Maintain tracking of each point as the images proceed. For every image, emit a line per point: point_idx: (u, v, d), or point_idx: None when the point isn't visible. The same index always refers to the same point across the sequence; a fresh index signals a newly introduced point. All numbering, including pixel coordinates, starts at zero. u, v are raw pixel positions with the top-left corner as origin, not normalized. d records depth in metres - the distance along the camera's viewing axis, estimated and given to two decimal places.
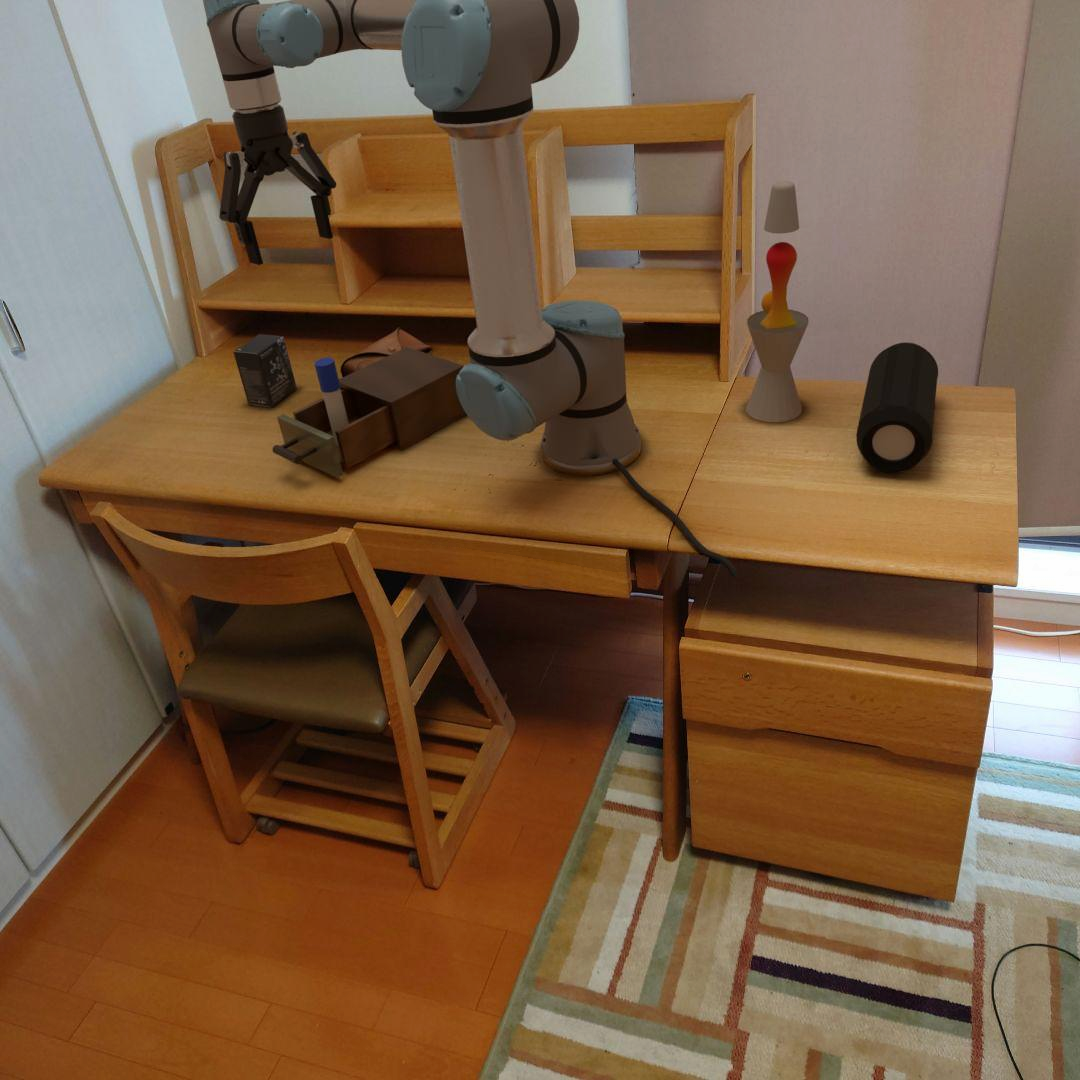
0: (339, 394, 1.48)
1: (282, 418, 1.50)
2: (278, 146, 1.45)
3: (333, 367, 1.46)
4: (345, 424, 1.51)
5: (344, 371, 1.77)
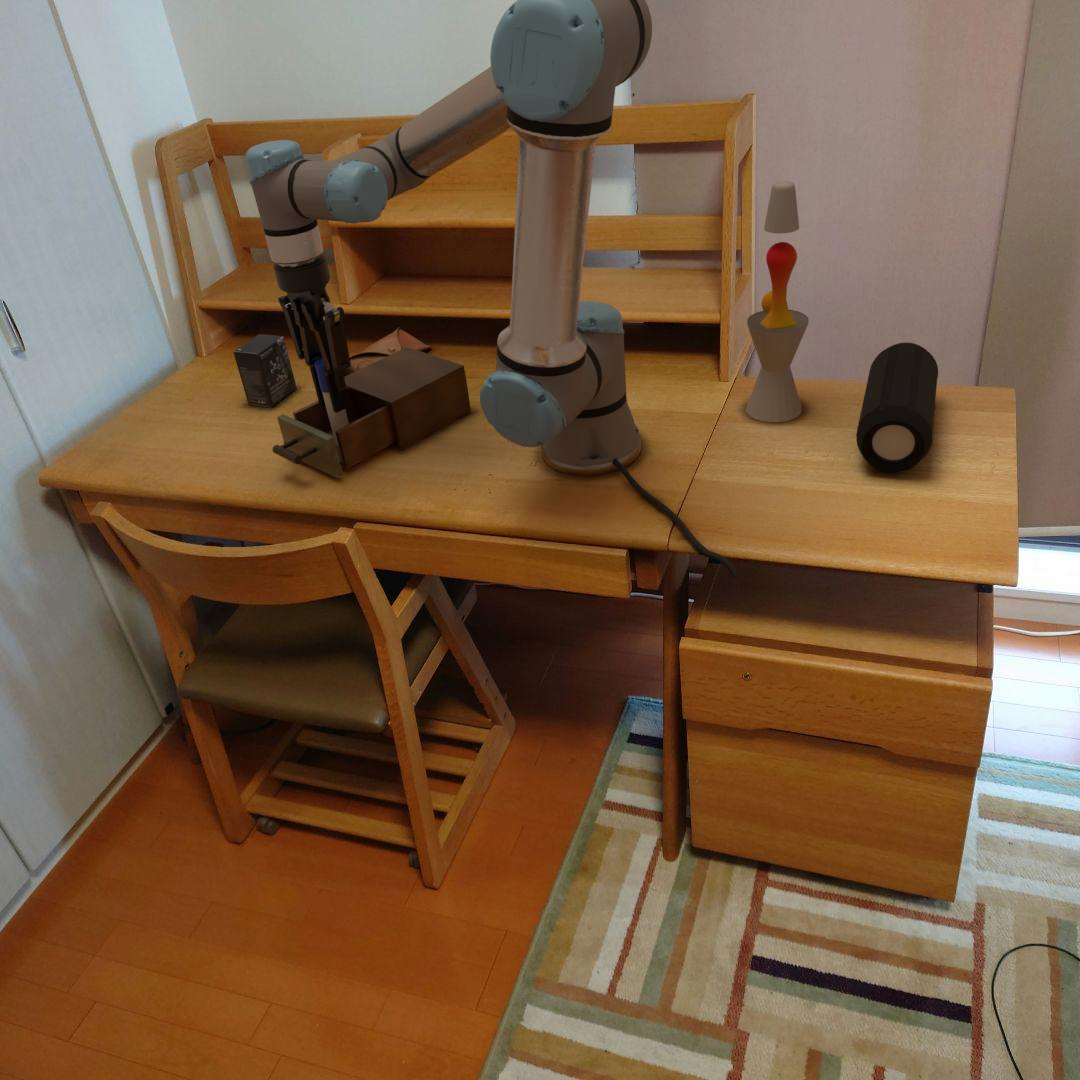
0: None
1: (282, 418, 1.50)
2: (306, 295, 1.38)
3: None
4: (345, 424, 1.51)
5: (344, 371, 1.77)
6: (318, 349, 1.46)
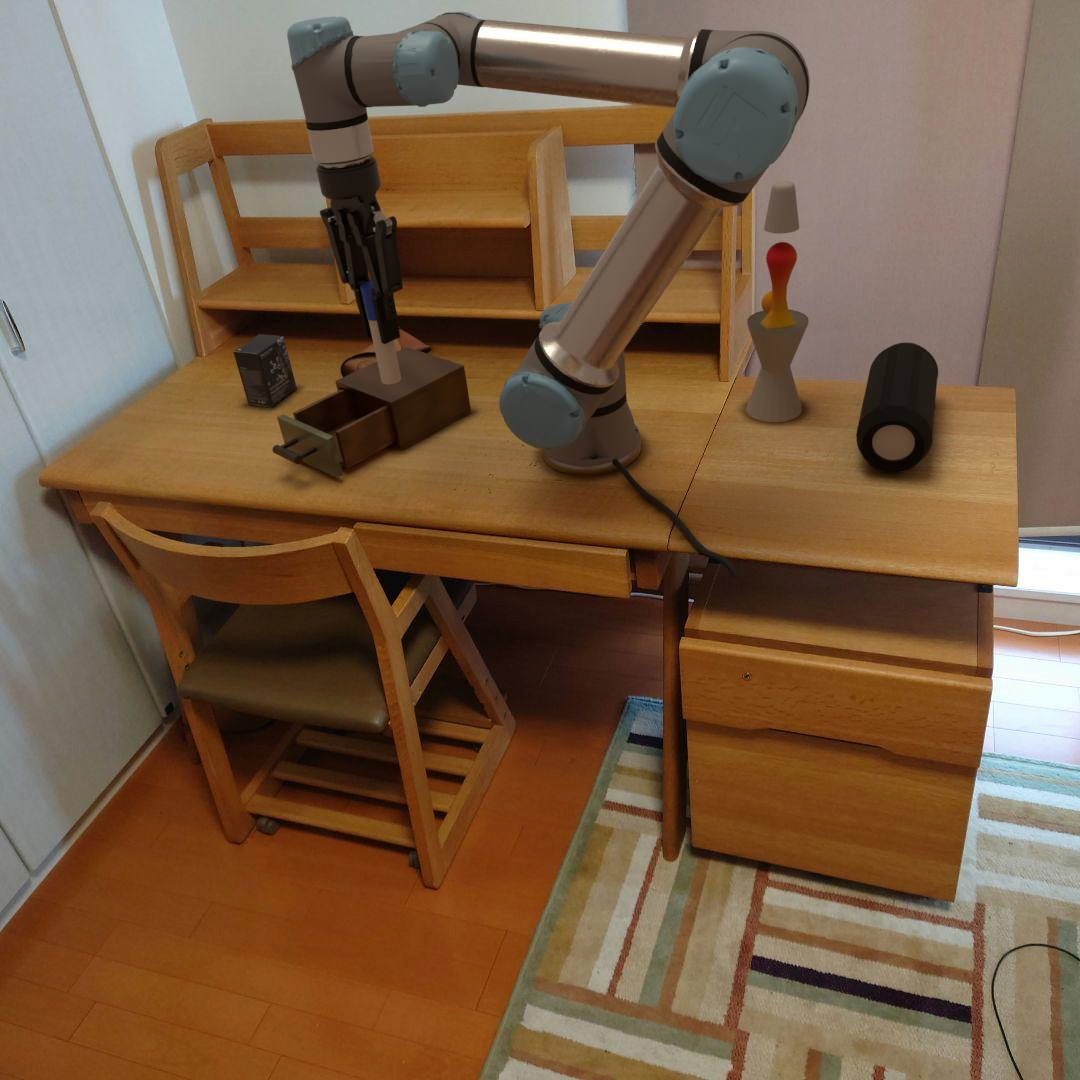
0: None
1: (282, 418, 1.50)
2: (354, 203, 1.20)
3: None
4: (393, 358, 1.33)
5: (344, 371, 1.77)
6: (364, 271, 1.29)
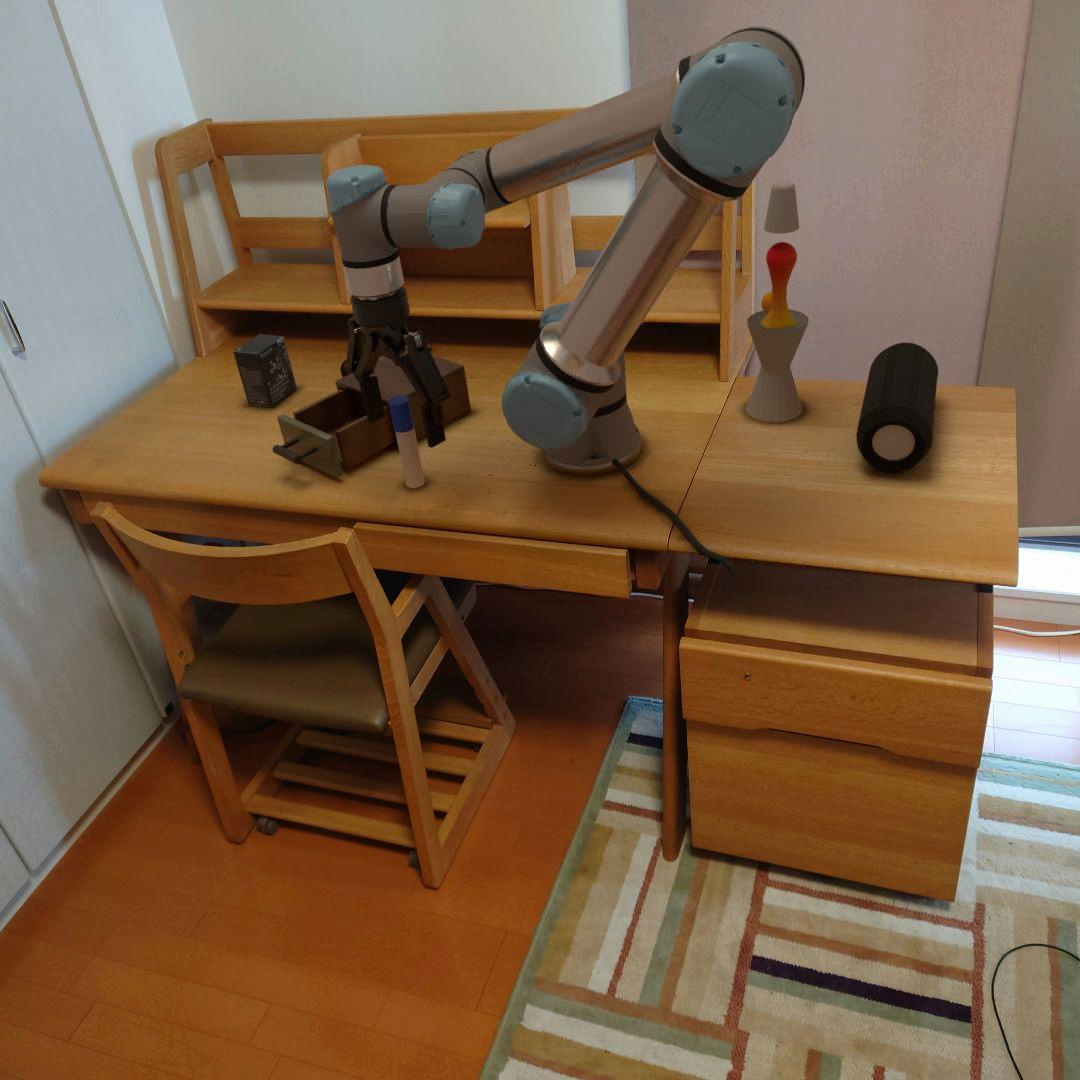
0: (414, 434, 1.39)
1: (282, 418, 1.50)
2: (385, 335, 1.29)
3: (408, 406, 1.37)
4: (418, 464, 1.42)
5: (344, 371, 1.77)
6: (372, 368, 1.39)
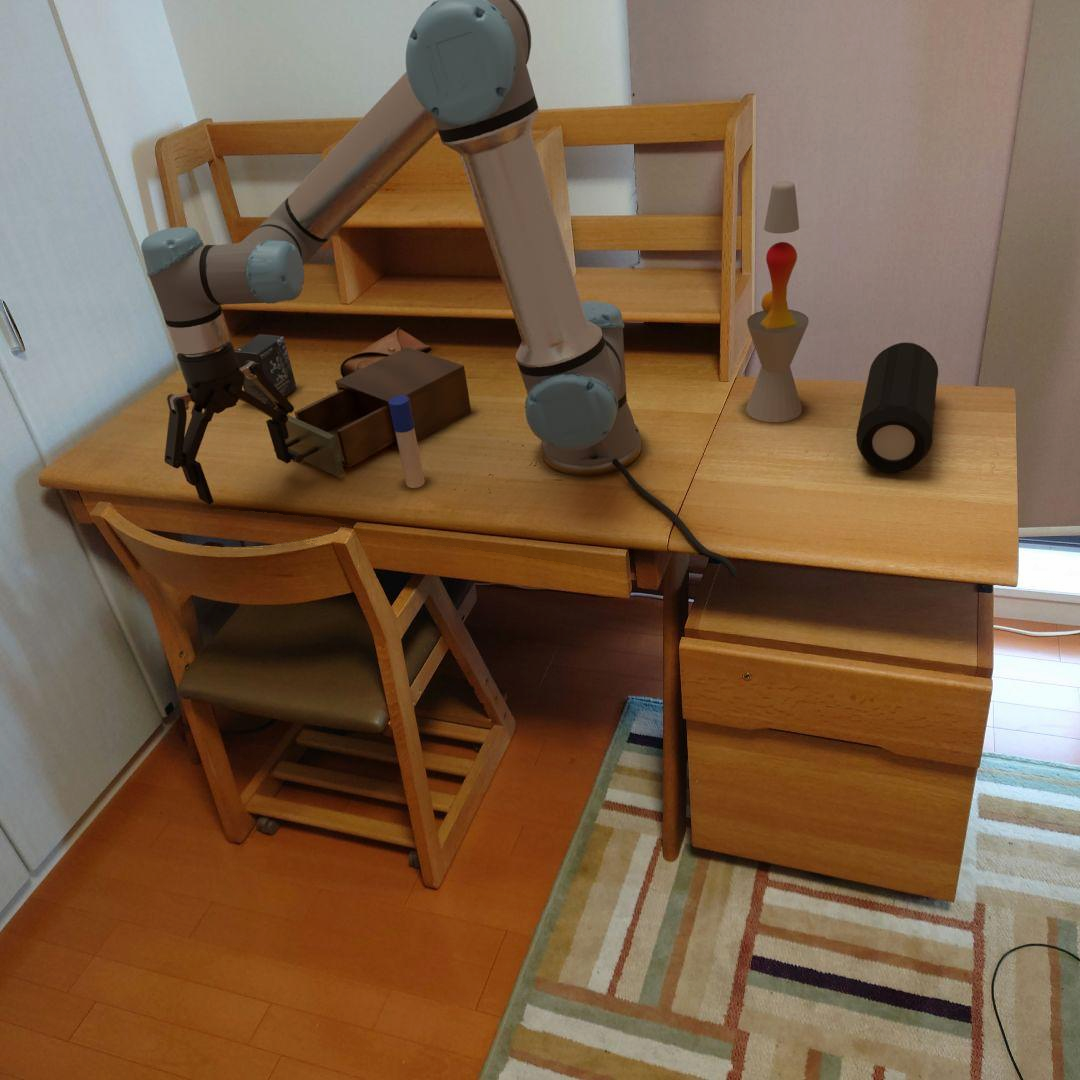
0: (414, 434, 1.39)
1: None
2: (228, 382, 1.34)
3: (408, 406, 1.37)
4: (418, 464, 1.42)
5: (344, 371, 1.77)
6: None
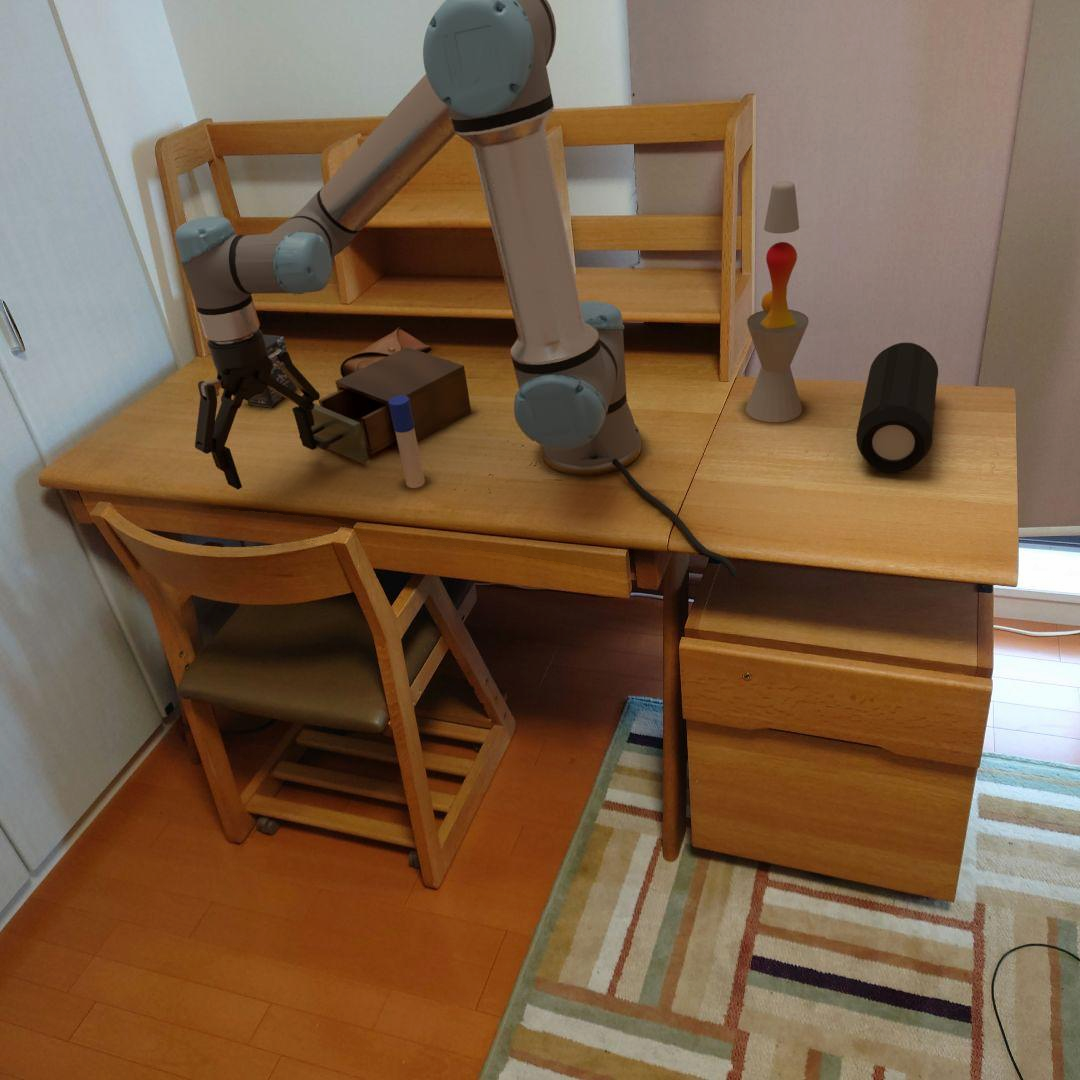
0: (414, 434, 1.39)
1: None
2: (257, 369, 1.36)
3: (408, 406, 1.37)
4: (418, 464, 1.42)
5: (344, 371, 1.77)
6: None
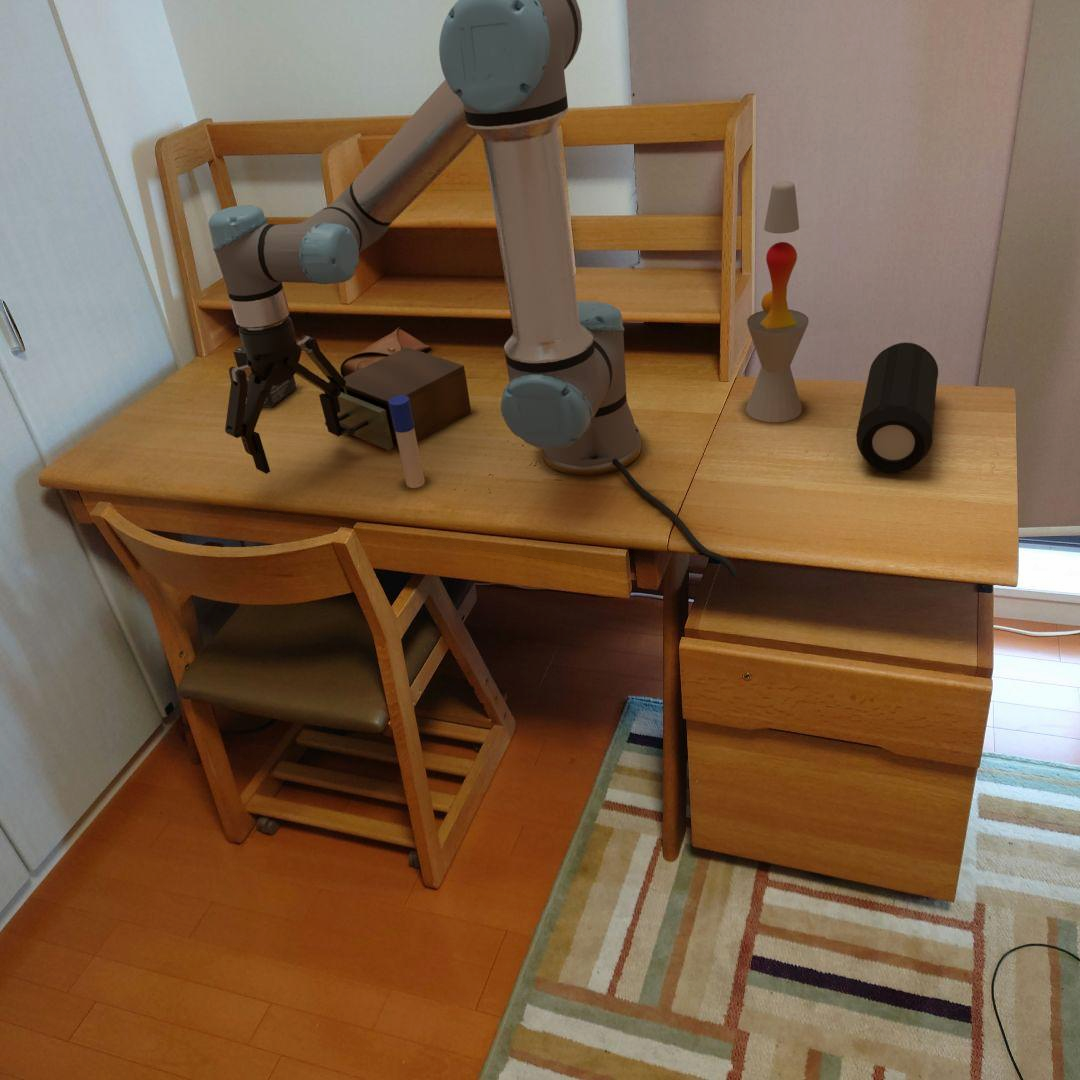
0: (414, 434, 1.39)
1: None
2: (286, 356, 1.39)
3: (408, 406, 1.37)
4: (418, 464, 1.42)
5: (344, 371, 1.77)
6: None
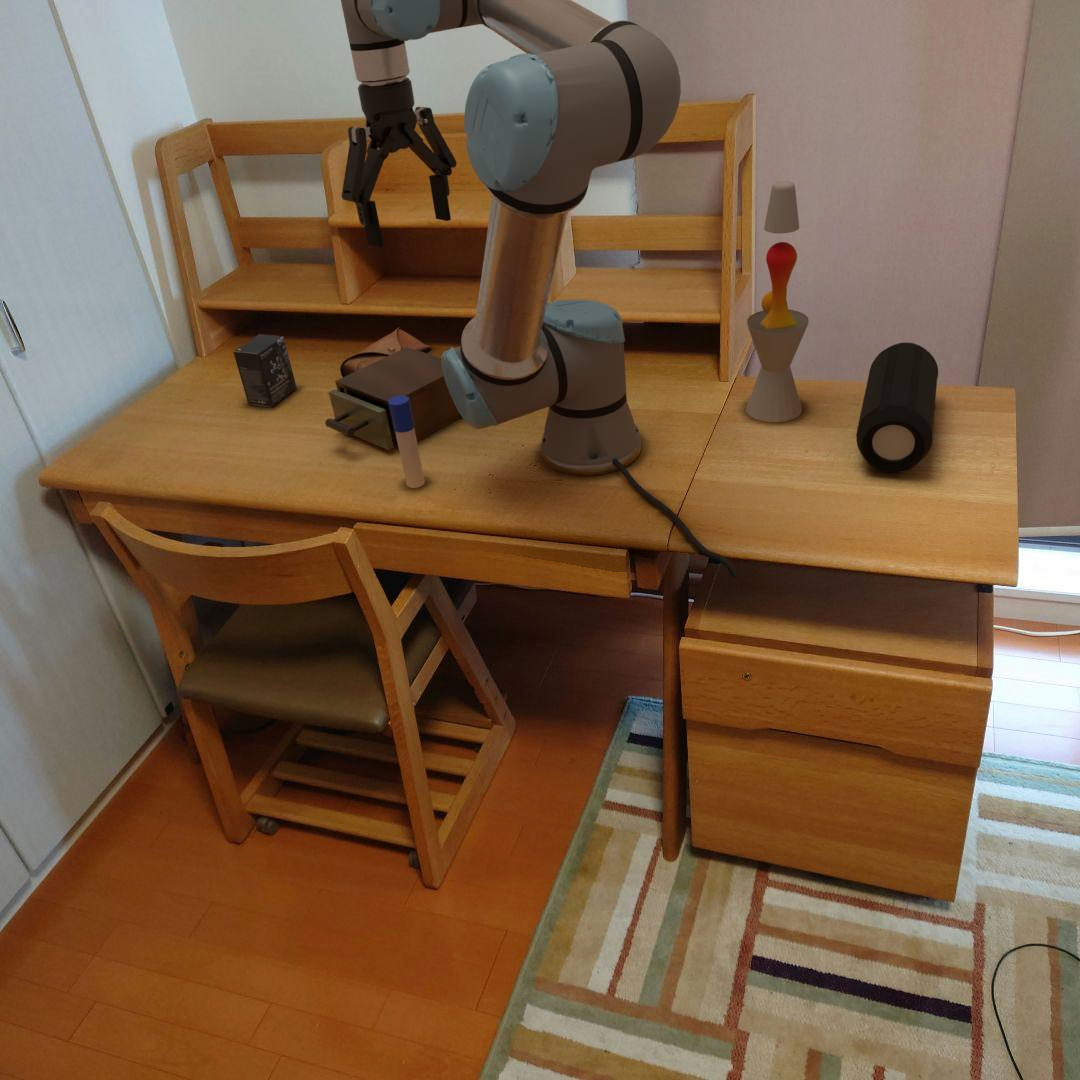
0: (414, 434, 1.39)
1: (334, 393, 1.56)
2: (403, 121, 1.37)
3: (408, 406, 1.37)
4: (418, 464, 1.42)
5: (344, 371, 1.77)
6: None
